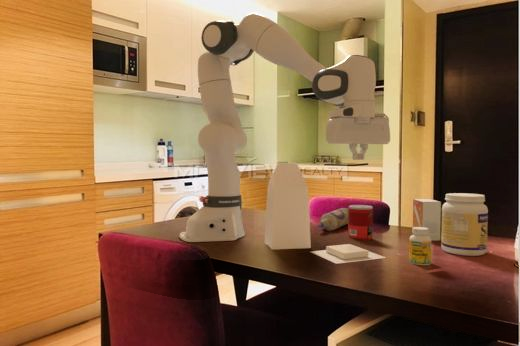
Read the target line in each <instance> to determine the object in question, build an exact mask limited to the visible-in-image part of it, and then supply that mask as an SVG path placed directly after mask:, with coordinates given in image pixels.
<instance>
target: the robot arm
mask: <svg viewBox="0 0 520 346" xmlns="http://www.w3.org/2000/svg"><path fill="white" fill-rule="evenodd" d="M200 39H201V43H202V45H203V47H204V49H205V50H206V51H205V52H204V53H202V54H201V55H200V56H199V57H198V59H197V79H198V87H199V93H200V98H201V99H200V101H201V105H202V109H203V112H205V114H206V117H207V119H208V121H209V123H208V124H206V125H205V126H203V127H202V128H201V129H200V130H199V132H198V136H197V139H198V140H197V141H198V145H199V147H200V148H201V150H202V152H203V155H204V156H203V157H204V160H205V164H206V169H207V181H208V182H207V183H208V184H207V186H208V187H207V190H208V191H207V194H208V195H206V196H203V195H201V196H199V201H200V202H201V203H202V207H201V208H199V209H198V210H197V211H196V212H195V213H193V214H192V215H191V216H189V217H188V219H187V221H186V227H185V231H181V232H180V233H179V238H180V240H182V241H184V242H188V243H201V242H202V243H204V242H226V241H228V242H229V241H236V240H237V239H240V238H243V237H245V235H246V234H245V231H244V226H243V219H242V207H243V201H242V195H241V171H240V170H239V167H238V164H237V163H238V162H237V159H236V154H239V153H241V152H242V151H243V150H244V149H245V148H246V146H247V143H248V138H247V134H246V132H245V130H244V128H243V125H242V122H241V119H240V115H239V114H238V111H237V107H236V104H235V100H234V93H233V88H232V87H233V86H232V80H231V74H230V67H231V66H234V67H235V66H237V65H238V64H240V63H241V62H244V61H246V60H248V59H249V58H250V57H251V56H252V55H253V53H256V54H257V55H259V56H260V58H261V57H262V58H263V59H264V60H266V61H268V62H270V63H272V64H274V65H277V66H279V67H282V68H285V69H288V70H291V71H293V72H296V73H298V74H300V75H301V76H303V77H304V78H306V79H307V80H308V81H309V82H311V88H312V92H313V94H314V96H316V98H317V99H319V100H321V101H324V102H325V103H326V102H327V103H329V104H330V105H332V106H335V107H338V108H334V109H331V110H329V111H328V114H327V115H328V118H329V119H328V120H327V123H326V129H325V140H326V142H327V143H328V144H334V145H335V144H337V145H338V144H339V145H340V144H341V145H344V144H346V145H347V144H348V145H349V147H348V149H349V150H350V152H351V154H352V158H351V159H352V160H354V161H356V160H357V161H358V160H359V161H362V160H363V161H364V160H365V154H366V153H367V150H368V149H369V145H389V144H390V142H391V128H390V119H389V117H388V116H387V115H386V114H385V113H383V112H381V113H379V112H376V97H375V89H376V85H377V76H376V67H375V66H376V65H375V62H374V61H373V59H371V58H370V57H368V56H364V55H363V54H352V55H348V56H347V57H346V58H345V59H344V60H342V61H340V62H339V63H337V64H335V65H333V66H330V67H326V66H325V65H323V64H321V63H320V62H319V61H317V60H316V59H315V58H313V57H312V56H311V55H310V54H309V53H308V52H307V51H306V50H305V49H304V48H303V47H302V46H301V45H300V44H299V42H298V41H297V40H296V39H295V38H294V37H293V36H292V35H291V34H290V33H289V32H288V31H287V30H286V29H285V28H283V27H282V26H281V25H279V24H278V23H277V22H275V21H273V20H271V18H269V17H266V16H264V15H262V14H259V13H257V12H251V13H248V14H246V15H244V16H243V18H242V20H241V21H240V22H239V23H237V24H235V22H233V21H232V20H215V21H210V22H209V23H207V24H205V26H204V28H203V29H202V33H201V38H200ZM358 145H359V148H360V151H359V153H358V150H357V148H358Z"/></svg>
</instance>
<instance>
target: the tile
mask: <svg viewBox="0 0 520 346" xmlns="http://www.w3.org/2000/svg"><path fill="white" fill-rule="evenodd" d="M325 250H326V252H328V253H330V254H332V255H335V256H337V257H339V258H342V259H351V258H359V257H368V256H369V252H370V250H367V249H365V248H362V247H359V246H357V245H354V244H351V243H347V244H337V245H326V246H325Z"/></svg>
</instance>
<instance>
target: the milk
mask: <svg viewBox="0 0 520 346" xmlns="http://www.w3.org/2000/svg"><path fill="white" fill-rule="evenodd" d="M266 192H267V193H266V206H265V207H266V210H265V227H264V245H266V246H268V247H269V248H270V249H271V250H288V249H289V250H292V249H293V250H294V249H295V250H296V249H311V244H312V243H311V223H310V196H309V187H308V184H307V181H306V179H305V177H304V175H303V173H302V171H301V169H300V166H299V165H298V162H288V163H278V162H277V163H276V165H275V167H274V170H273V173H272V175H271V177H270V179H269V181H268V184H267V189H266Z"/></svg>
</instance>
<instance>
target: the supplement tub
mask: <svg viewBox="0 0 520 346" xmlns="http://www.w3.org/2000/svg"><path fill="white" fill-rule="evenodd" d="M444 200H445V201H446V202H444V203H443V204H442V205H441V232H440V241H441V243H440V245H441V246H440V247H441V249H442V250H443V251H444V252H446V253H449V254H452V255H458V256H466V257H469V256H470V257H476V256H477V257H478V256H483V255H485V254H486V252H487V251H488V224H489V223H488V221H489V219H488V218H489V213H488V212H489V209H488V206H487V205H486V204H484V203H485V202H486V196H485V194H479V193H467V192H466V193H465V192H463V193H462V192H459V193H458V192H457V193H456V192H453V193H451V192H449V193H446V194H445V198H444Z"/></svg>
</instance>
